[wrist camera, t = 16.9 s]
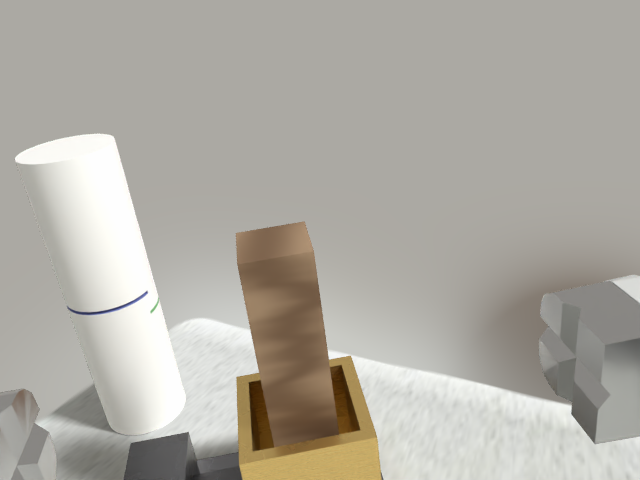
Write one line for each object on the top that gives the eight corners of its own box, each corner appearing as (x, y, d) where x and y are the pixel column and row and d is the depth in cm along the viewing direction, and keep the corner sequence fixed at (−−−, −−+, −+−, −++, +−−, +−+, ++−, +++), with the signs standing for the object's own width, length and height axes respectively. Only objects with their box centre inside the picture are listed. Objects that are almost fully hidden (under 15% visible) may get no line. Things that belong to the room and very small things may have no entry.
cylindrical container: (91, 421, 55) (-6, 161, 44) (147, 374, 60) (73, 132, 49) (147, 444, 51) (57, 167, 40) (201, 392, 57) (134, 135, 46)
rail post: (281, 488, 38) (236, 265, 31) (276, 441, 41) (235, 232, 35) (345, 474, 38) (314, 251, 31) (334, 429, 42) (305, 221, 35)
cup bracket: (118, 665, 35) (64, 544, 31) (146, 479, 48) (111, 374, 43) (417, 599, 36) (408, 473, 32) (368, 436, 49) (356, 329, 45)
